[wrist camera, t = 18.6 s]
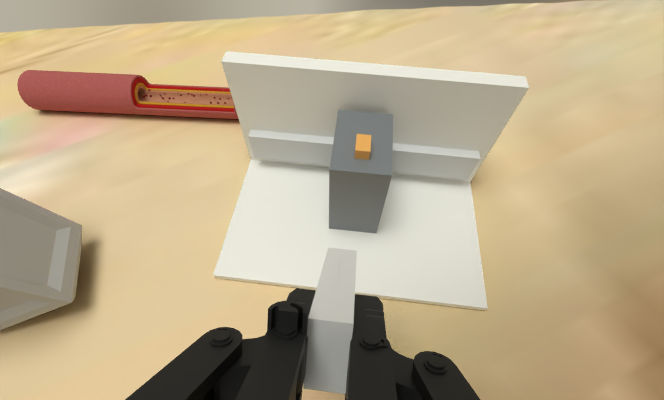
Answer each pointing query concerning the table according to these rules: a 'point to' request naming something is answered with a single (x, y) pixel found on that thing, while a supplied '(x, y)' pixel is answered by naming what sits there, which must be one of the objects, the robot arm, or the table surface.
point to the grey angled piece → (35, 260)
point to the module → (360, 170)
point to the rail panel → (405, 187)
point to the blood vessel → (121, 95)
